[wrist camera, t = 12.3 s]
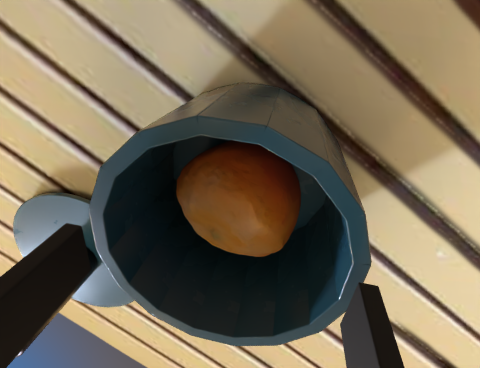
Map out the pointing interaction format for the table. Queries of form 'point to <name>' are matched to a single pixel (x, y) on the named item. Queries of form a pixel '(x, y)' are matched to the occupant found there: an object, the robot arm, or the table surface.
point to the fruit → (240, 198)
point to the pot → (216, 259)
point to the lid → (76, 212)
